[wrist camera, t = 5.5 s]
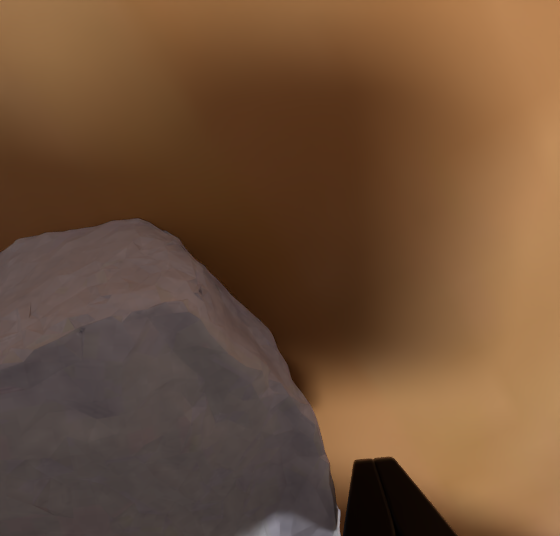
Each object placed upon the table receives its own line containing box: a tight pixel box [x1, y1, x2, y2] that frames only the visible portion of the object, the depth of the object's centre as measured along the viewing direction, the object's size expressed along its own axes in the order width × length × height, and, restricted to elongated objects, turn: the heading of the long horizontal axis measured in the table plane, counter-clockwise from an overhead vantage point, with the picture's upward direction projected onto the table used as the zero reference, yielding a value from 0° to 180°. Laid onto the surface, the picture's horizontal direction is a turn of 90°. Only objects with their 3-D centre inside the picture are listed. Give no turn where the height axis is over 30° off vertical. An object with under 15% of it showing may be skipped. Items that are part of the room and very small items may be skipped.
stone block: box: [0, 218, 341, 536], centre depth 9 cm, size 12×5×10 cm
